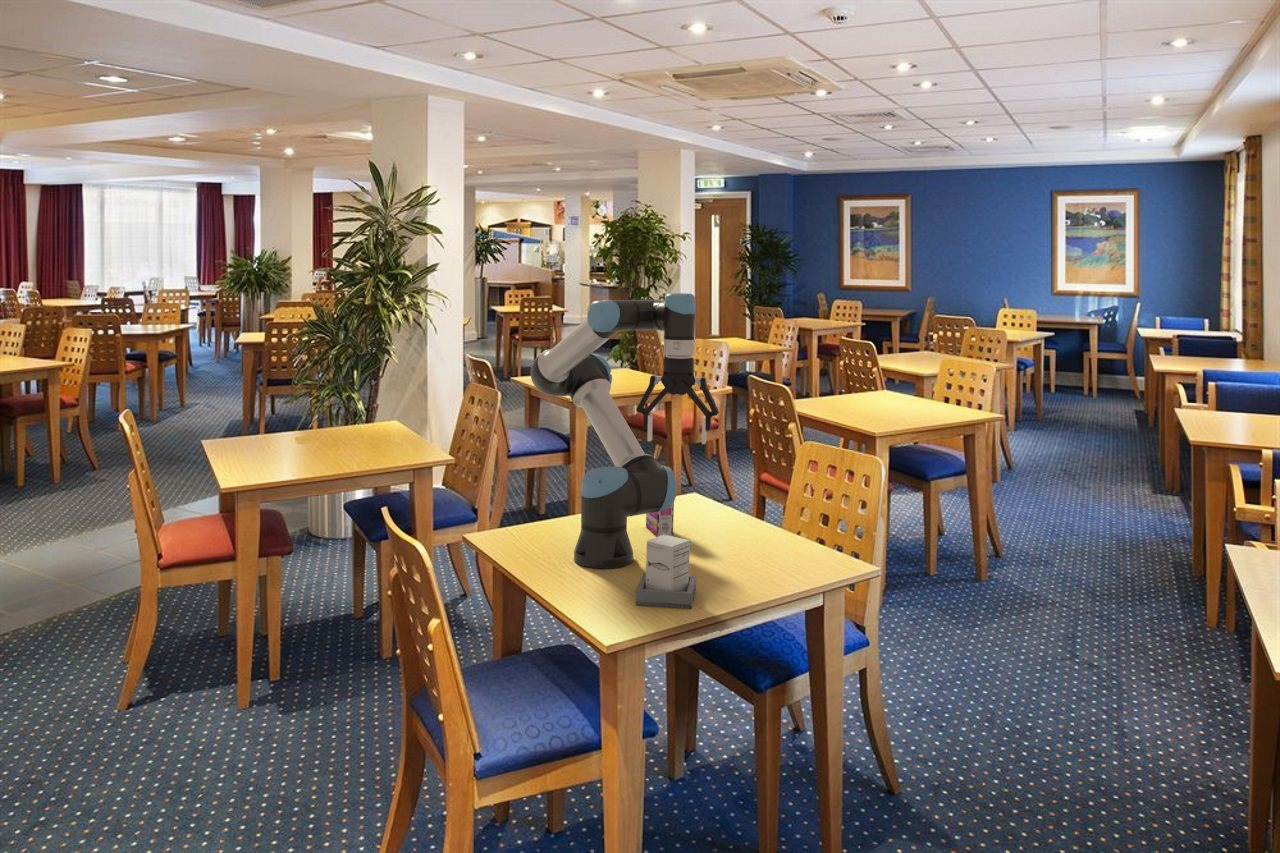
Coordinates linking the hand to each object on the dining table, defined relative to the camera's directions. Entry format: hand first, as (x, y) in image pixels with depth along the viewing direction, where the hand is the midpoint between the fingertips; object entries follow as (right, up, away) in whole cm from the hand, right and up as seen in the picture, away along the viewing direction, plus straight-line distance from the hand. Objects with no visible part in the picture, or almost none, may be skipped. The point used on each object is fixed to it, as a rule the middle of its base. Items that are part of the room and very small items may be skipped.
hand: (676, 442), depth 234 cm
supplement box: (-3, -34, -20) cm, 40 cm away
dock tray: (-3, -35, -20) cm, 40 cm away
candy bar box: (-4, -26, +34) cm, 43 cm away
